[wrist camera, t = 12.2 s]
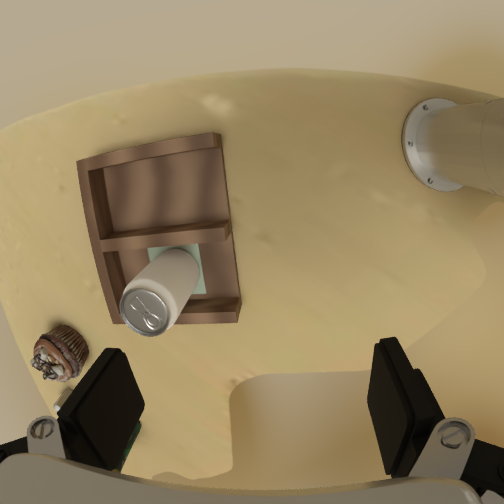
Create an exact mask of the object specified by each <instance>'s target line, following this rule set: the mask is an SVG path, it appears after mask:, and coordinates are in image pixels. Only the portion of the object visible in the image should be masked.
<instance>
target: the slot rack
mask: <svg viewBox="0 0 504 504" xmlns="http://www.w3.org/2000/svg"><path fill="white" fill-rule="evenodd" d="M76 162H77V170H78V177H79V184H80V190H81V196H82V202H83V207H84V213H85V218H86V223H87V228H88V232H89V237H90V242H91V246H92V250H93V255H94V259H95V263H96V267H97V271H98V274H99V278H100V282H101V286H102V289H103V293H104V296H105V300H106V303H107V306H108V309H109V313H110V316H111V319H112V322H113V324H126V323H125V322H124V320H123V318H122V316H121V313H120V308H119V305H120V300H121V298H122V296H123V292H124V290H125V288H126V286H127V285H128V284H129V283H130V282H131V281H132V280H133V279H134V278H135V277H136V276H137V275H138V274H139V273H140V272H141V271H142V270H143V269H144V268H145V267H146V266H147V265H148V264H149V263H150V262H151V261H152V260H154V259H155V258H156V257H157V256H158V255H159V254H160V253H162V252H163V251H165V250H167V249H181V250H183V251H185V252H187V253H189V254H190V255H191V256H192V257H193V258H194V259H195V261H196V262H197V264H198V267H199V273H200V275H199V280H198V283H197V285H196V287H195V288H194V290H193V292H192V294H191V295H190V297H189V299H188V301H187V303H186V304H185V306H184V308H183V309H182V311H181V313H180V315H179V316H178V318H177V320H176V321H175V323H174V324H215V323H237V322H238V318H239V313H240V309H241V305H242V303H241V296H240V288H239V281H238V273H237V265H236V258H235V250H234V242H233V234H232V226H231V218H230V210H229V202H228V193H227V185H226V176H225V168H224V159H223V151H222V142H221V135H220V134H216V133H206V134H200V135H193V136H187V137H181V138H176V139H170V140H165V141H159V142H154V143H149V144H144V145H140V146H135V147H131V148H126V149H122V150H117V151H113V152H109V153H105V154H101V155H97V156H93V157H90V158H86V159H82V160H78V161H76Z"/></svg>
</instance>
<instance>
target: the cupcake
mask: <svg viewBox="0 0 504 504" xmlns="http://www.w3.org/2000/svg"><path fill="white" fill-rule="evenodd" d="M88 353H89V350H88V346H87V344H86V341H85V340H84V338H83V337H82V336H81V335H79V333H78V332H77V331H76V330H74V329H73V328H71V327H69V326H59V327H57V328H55V329H53V330H51V331H50V332H48V333H45V334H42V336H41V337H40V338H39V340H38V341H37V342H36V344H35V346H34V358H33V359H32V360H31V365H32V367H35V368H36V369H37V370H39V371H40V370H41V371H42V372H43V373H44V374H43V378H44V379H45V380H46V379H49V380H52V381H53V380H57V381H61V382H66V381H67V380H69V379H71V378H73V379H74V378H76V377H78V376H79V375H80V372H81V370H82V367H83V366H84V363H85V361H86V359H87V357H88Z"/></svg>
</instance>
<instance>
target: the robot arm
mask: <svg viewBox="0 0 504 504" xmlns="http://www.w3.org/2000/svg"><path fill="white" fill-rule="evenodd" d="M423 107H424V109H423ZM408 142H409V145H408V144H407V143H408ZM402 146H403V151H404V155H405V158H406V161H407V164H408V166H409V167H410V169H411V171H412V172H413V174H414V175H415V176H416V178H417V179H418V180H420V181H421V182H422V183H423V184H424V185H426V186H428V187H429V188H432V189H435V190H438V191H442V192H451V191H455V190H458V189H460V188H462V187H464V186H468V187H471V188H475V189H479V190H482V191H486V192H489V193H492V194H496V195H499V196H502V197H504V99H497V100H490V101H483V102H477V103H471V104H465V105H458V104H456V103H454V102H452V101H450V100H447V99H443V98H432V99H428V100H425V101H423V102H421V103H419V104H418V105H416V106H415V107H414V108H413V109H412V111H411V112H410V113H409V115H408V117H407V118H406V121H405V124H404V127H403V134H402ZM428 179H429V181H428ZM367 403H368V408H369V411H370V415H371V418H372V422H373V425H374V430H375V433H376V437H377V441H378V445H379V449H380V453H381V457H382V461H383V465H384V469H385V473H386V475H390V474H391V477H392V479H386V480H380V481H372V482H365V483H358V484H350V485H342V486H332V487H320V488H308V489H288V490H242V489H221V488H208V487H198V486H190V485H189V486H188V485H182V484H174V483H167V482H161V481H155V480H150V479H144V478H139V477H134V476H129V475H125V474H121V473H116V472H112V470H114V469H116V467H117V465H118V463H119V461H120V459H121V457H122V455H123V452H124V450H125V448H126V446H127V444H128V442H129V440H130V438H131V435H132V433H133V431H134V429H135V427H136V425H137V423H138V421H139V418H140V416H141V414H142V412H143V410H144V406H145V403H144V400H143V397H142V395H141V392H140V390H139V387H138V385H137V383H136V380H135V378H134V375H133V372H132V370H131V367H130V364H129V362H128V359H127V356H126V354H125V353H124V352H122V350H121V349H119V348H106V349H105V350H104V351H103V352H102V353H101V355H100V356H99V357H98V359H97V360H96V361H95V362H94V364H93V365H92V366H91V368H90V369H89V370H88V372H87V373H86V374H85V375H84V377H83V378H82V379H81V381H80V382H79V383H78V385H77V386H76V387H75V389H74V390H73V391H72V393H71V394H70V395H69V397H68V398H67V400H66V401H65V402H64V404H63V405H62V406H61V408H60V409H59V410H58V412H57V415H58V416H59V418H58V419H57V420H56V419H55V418H54V417H51V416H42V417H39V418H36V419H35V420H34V421H32V422H31V424H30V425H29V427H28V429H27V436H26V437H23V438H20V439H17V440H14V441H11V442H8V443H5V444H2V445H0V504H504V448H501V447H498V446H495V445H492V444H489V443H486V442H483V441H480V440H477V439H475V430H474V428H473V427H472V425H471V424H470V423H469V422H468V421H466V420H464V419H461V418H456V417H453V418H447V419H445V417H444V415H443V412H442V411H441V409H440V407H439V405H438V402H437V401H436V399H435V397H434V395H433V393H432V391H431V389H430V387H429V385H428V383H427V381H426V379H425V377H424V376H423V374H422V372H421V371H420V369H418V368H417V369H413V368H412V366H411V364H410V362H409V360H408V358H407V356H406V354H405V352H404V351H403V349H402V347H401V345H400V343H399V341H398V339H397V338H396V337H390V338H383V339H380V341H379V343H376V344H375V346H374V354H373V362H372V369H371V377H370V384H369V390H368V396H367Z"/></svg>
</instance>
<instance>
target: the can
mask: <svg viewBox="0 0 504 504" xmlns="http://www.w3.org/2000/svg"><path fill="white" fill-rule="evenodd" d="M199 275H200V273H199V267H198V264H197V262H196V261H195V259H194V258H193V257H192V256H191V255H190V254H189V253H187V252H185V251H183V250H181V249H167V250H165V251H163V252H162V253H160V254H159V255H158V256H157V257H156V258H155V259H154V260H152V261H151V262H150V263H149V264H148V265H147V266H146V267H145V268H144V269H143V270H142V271H141V272H140V273H139V274H138V275H137V276H136V277H135V278H134V279H133V280H132V281H131V282H130V283H129V284H128V285H127V286H126V288H125V290H124V292H123V296H122V298H121V300H120V305H119V308H120V313H121V316H122V318H123V320H124V322H125V323H126V324H127V326H128V327H129V328H130V329H132V330H133V331H134V332H136V333H138V334H140V335H143V336H148V337H153V336H158V335H160V334H162V333H163V332H164V331H165V330H167V329H169V328H170V327H171V326H172V325H173V324H174V323H175V321H176V320H177V318H178V316H179V315H180V313H181V311H182V309H183V308H184V306H185V304H186V303H187V301H188V299H189V297H190V295H191V294H192V292H193V290H194V288H195V287H196V285H197V283H198V280H199Z"/></svg>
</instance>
